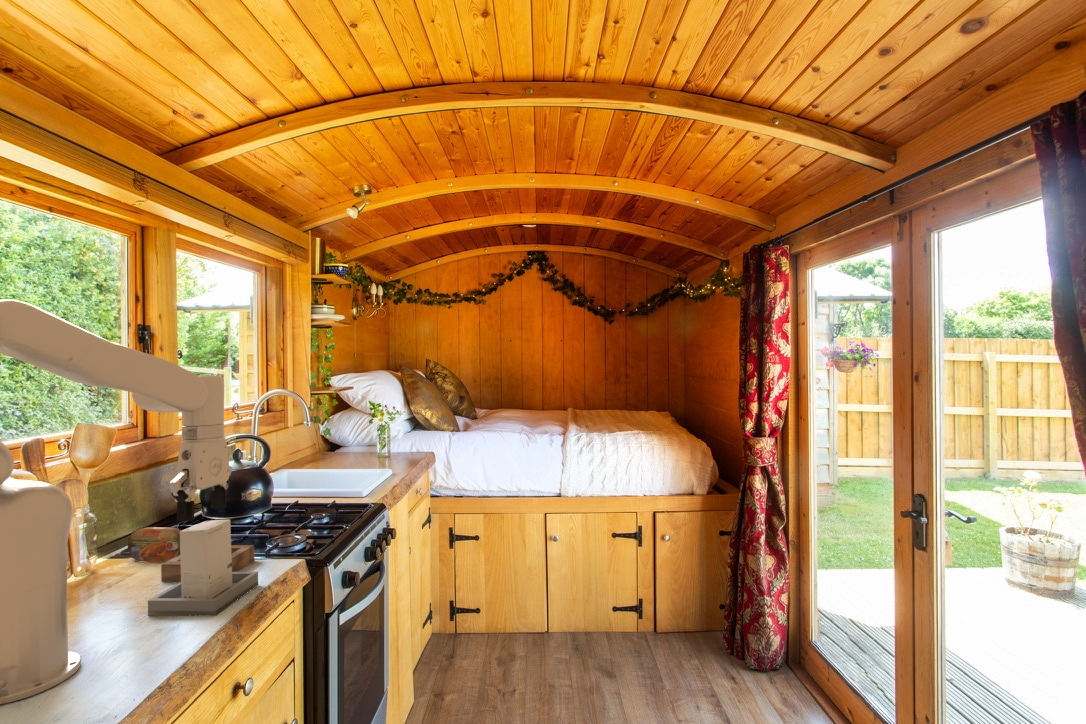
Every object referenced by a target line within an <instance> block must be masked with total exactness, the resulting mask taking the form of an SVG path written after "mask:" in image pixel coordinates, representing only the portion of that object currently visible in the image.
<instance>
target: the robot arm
mask: <svg viewBox="0 0 1086 724" xmlns="http://www.w3.org/2000/svg"><path fill="white" fill-rule="evenodd" d="M0 354H1V355H4V356H7V357H10V358H12V359H15V360H17V361H20V362H23V363H26V364H29V365H31V366H34V367H35V368H38V369H41V370H45V371H47V372H49V373H52V374H54V375H56V376H58V377H62V378H63V379H67V380H69V381H72V382H75V383H77V384H83V385H88V386H89V387H97V388H105V389H113V390H119V391H124V392H128V393H131V397H132V400H133V402H134V404H136V406H137V407H139V408H140V409H143V410H144V411H147V412H153V413H181V442H180V448H179V453H178V458H177V459H178V461H177V472H176V473H177V475H176V476H175V477H173V478H172V480H170V482H169V483H168V488H169V490H170V492H171V496H172V497H173V498H174V502H176V521H178V522H192V521H194V520H195V500H193V498H194V496H195V494H196V492H197V490H200V491H203V490H206V489H209V488H212V489H211V490H210V508H211V509H225V508H226V507H227V489H228V488H229V482H230V480H231V475H232V471H233V467H232V466H230V462H229V461H230V460H229V449H228V442H227V440H226V437H225V381H224V379H223V377H221V376H219V375H213V374H212V375H197V374H196V373H194V372H192V371H190V370H188V369H186V368H184V367H181V366H179V365H178V364H176V363H173V362H172V361H169V360H166V359H164V358H161V357H158V356H156V355H153V354H149V353H146V352H143V351H140V350H137V349H134V348H131V347H129V346H125V345H123V344H121V343H117V342H113V341H110V340H108V339H106V338H103V337H100V336H99V335H97V334H95V333H92V332H91V331H88V330H86V329H84V328H82V327H79V326H78V325H75V324H74V323H71V322H69V321H67V320H65V319H63V318H61V317H59V316H57V315H54V314H53V313H51V312H48V311H46V310H44V309H42V308H41V307H38V306H35V305H33V304H30V303H29V302H24V301H22V300H15V299H0ZM14 467H15V460H14V456H13V453H12V452H11V451H10V449H9V448H8V446H6V445H5V444H4V443H3V442H2V441H1V440H0V705H3V704H8V703H12V702H17V701H19V700H24V699H26V698H28V697H32V696H34V695H37V694H40V693H42V692H44V691H47V690H49V689H51V688H53V687H55V686H58V685H59V684H61V683H62V682H64V681H66V680H68V679H69V678H70V677H71V676H73V675H74V674H75V673H76V672H77V671H78V670H79V669H80V668H81V665H82V657H81V655H80V653H77V652H74V651H69V632H68V631H69V626H68V625H69V624H68V623H69V622H68V573H67V571H68V569H67V567H68V565H67V562H68V561H67V559H68V557H67V555H68V554H67V553H68V540H69V534H70V530H71V526H72V525H71V524H72V522H73V521H72V520H73V504H72V501H71V498H70V497H69V495H68V494H67V493H66V492H65V490H63V489H62V488H60V487H59V486H57V485H54V484H52V483H49V482H46V481H38V480H29V479H16V478H15V477H13V476H12V473H13V470H14ZM186 492H187V493H186Z"/></svg>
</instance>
